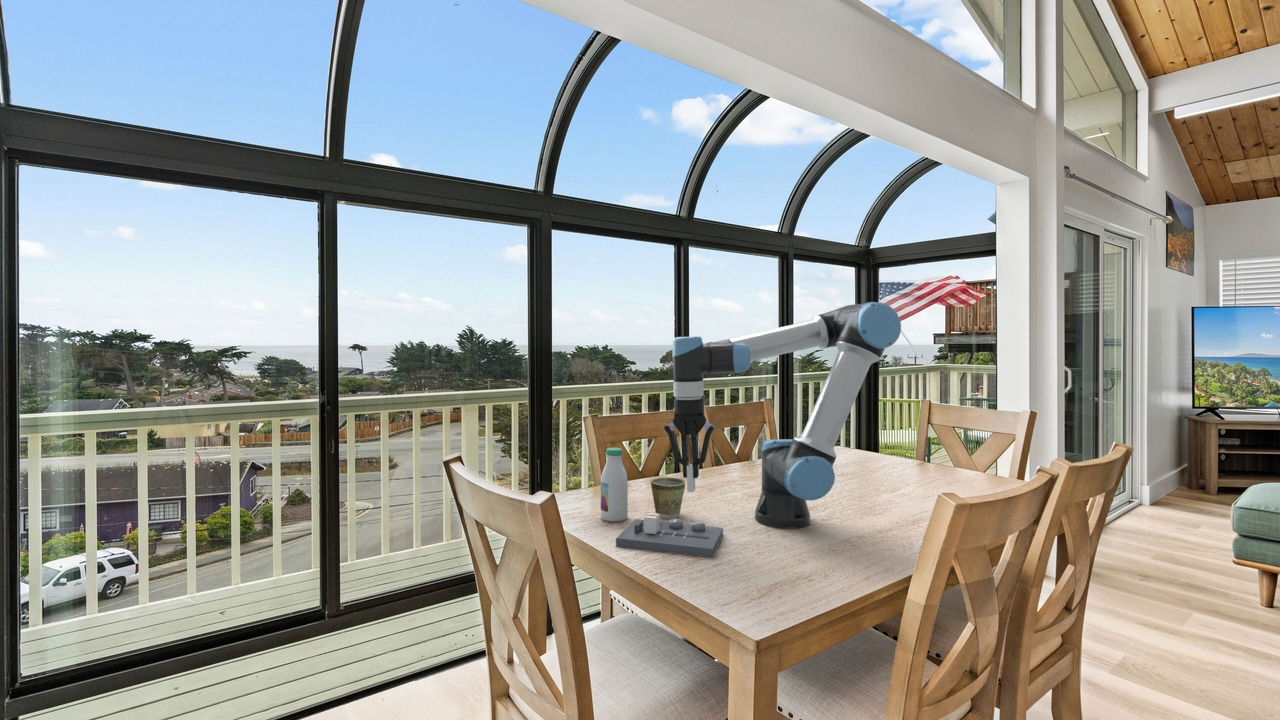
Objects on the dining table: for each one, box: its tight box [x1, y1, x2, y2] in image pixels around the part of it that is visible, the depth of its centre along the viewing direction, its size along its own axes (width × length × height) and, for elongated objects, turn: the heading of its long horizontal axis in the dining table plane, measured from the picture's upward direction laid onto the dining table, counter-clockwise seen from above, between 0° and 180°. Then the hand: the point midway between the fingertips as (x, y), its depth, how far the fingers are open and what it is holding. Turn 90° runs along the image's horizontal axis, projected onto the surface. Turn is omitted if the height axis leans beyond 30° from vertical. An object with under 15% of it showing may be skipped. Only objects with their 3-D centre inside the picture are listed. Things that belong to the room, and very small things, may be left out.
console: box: [615, 518, 724, 558], centre depth 148 cm, size 24×16×4 cm, turn 73°
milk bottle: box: [600, 447, 629, 523], centre depth 166 cm, size 8×8×20 cm
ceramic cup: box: [650, 476, 686, 520], centre depth 171 cm, size 13×10×10 cm
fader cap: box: [643, 512, 661, 534], centre depth 148 cm, size 3×4×4 cm
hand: (691, 490), depth 148 cm, fingers closed
